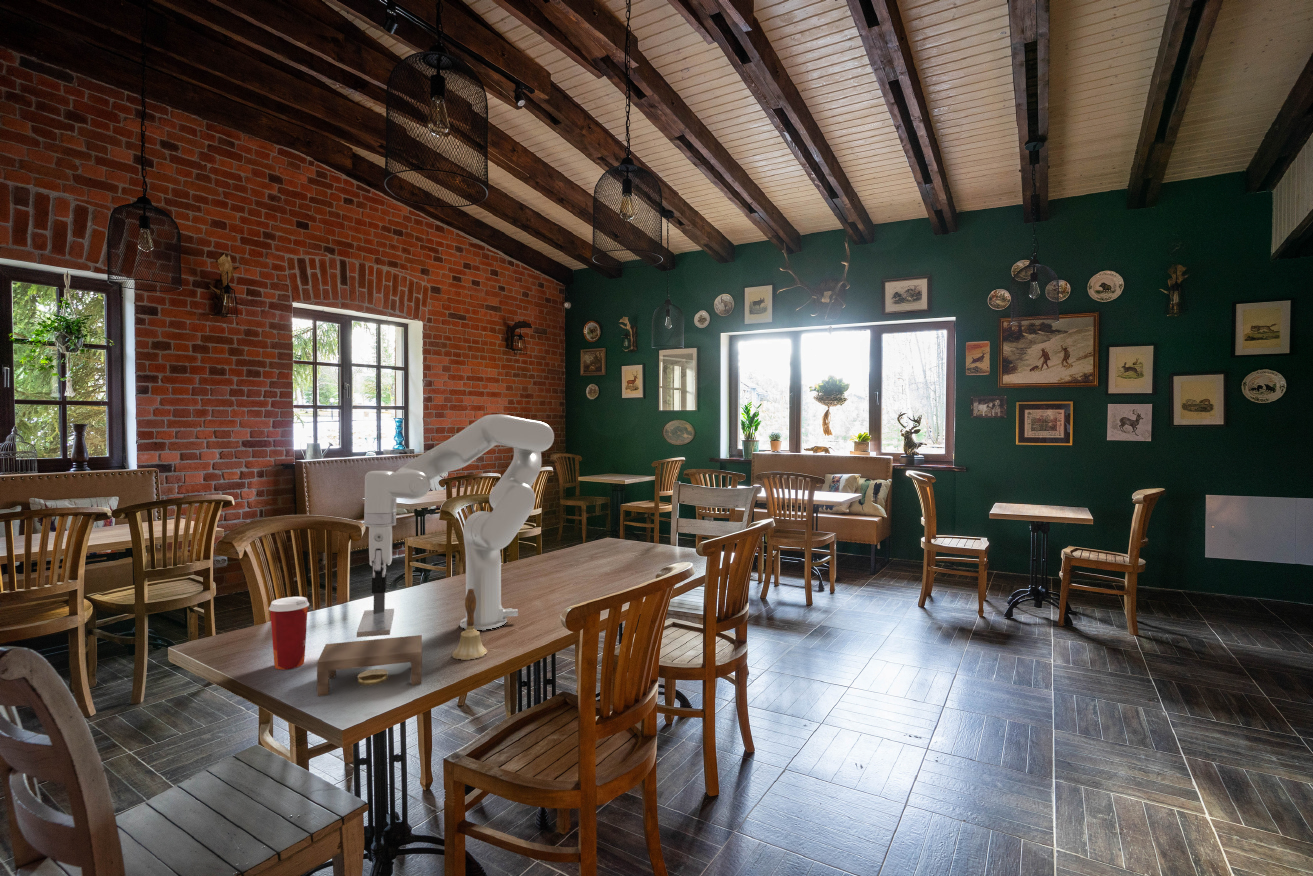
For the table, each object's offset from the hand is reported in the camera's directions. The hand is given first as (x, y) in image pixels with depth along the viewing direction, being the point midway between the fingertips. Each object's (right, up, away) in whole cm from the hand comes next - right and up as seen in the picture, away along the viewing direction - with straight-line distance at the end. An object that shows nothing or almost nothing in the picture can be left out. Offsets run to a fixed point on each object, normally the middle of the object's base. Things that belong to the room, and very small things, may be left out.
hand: (379, 590), depth 167 cm
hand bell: (+25, -14, -8) cm, 30 cm away
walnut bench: (+9, -14, -24) cm, 29 cm away
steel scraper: (+3, -6, -8) cm, 10 cm away
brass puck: (+9, -14, -24) cm, 29 cm away
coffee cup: (-14, -14, -15) cm, 25 cm away
